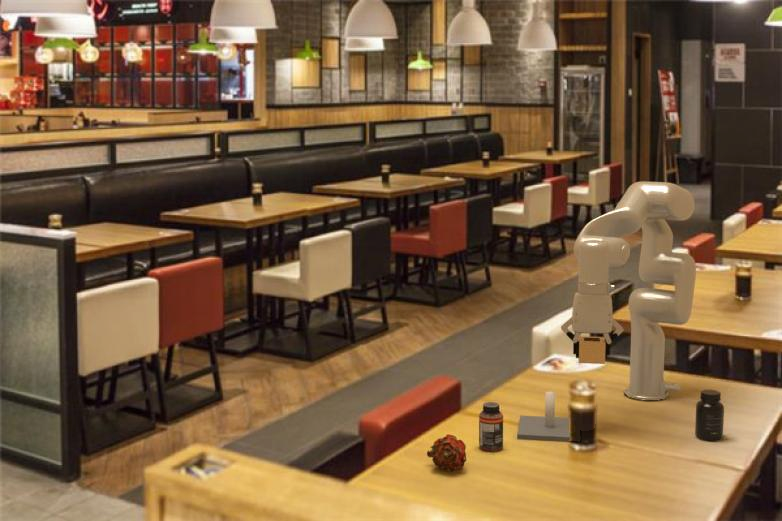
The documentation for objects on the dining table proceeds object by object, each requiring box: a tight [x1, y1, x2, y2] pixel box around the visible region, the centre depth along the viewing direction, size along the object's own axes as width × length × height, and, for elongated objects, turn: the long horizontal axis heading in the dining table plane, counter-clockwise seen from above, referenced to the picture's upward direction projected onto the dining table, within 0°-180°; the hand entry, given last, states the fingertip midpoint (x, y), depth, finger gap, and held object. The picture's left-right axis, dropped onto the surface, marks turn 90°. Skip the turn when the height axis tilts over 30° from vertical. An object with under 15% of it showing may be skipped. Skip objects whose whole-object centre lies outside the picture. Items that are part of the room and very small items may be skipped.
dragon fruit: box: [426, 433, 467, 472], centre depth 236 cm, size 8×8×12 cm
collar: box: [577, 335, 606, 365], centre depth 259 cm, size 6×6×6 cm
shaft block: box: [516, 390, 570, 443], centre depth 262 cm, size 16×16×10 cm
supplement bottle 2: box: [694, 389, 725, 442], centre depth 255 cm, size 7×7×12 cm
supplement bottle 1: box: [478, 401, 504, 453], centre depth 248 cm, size 6×6×11 cm
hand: (591, 356), depth 259 cm, fingers closed on collar, 6 cm apart
